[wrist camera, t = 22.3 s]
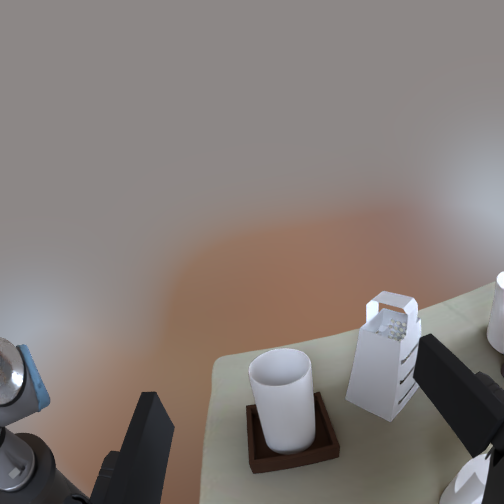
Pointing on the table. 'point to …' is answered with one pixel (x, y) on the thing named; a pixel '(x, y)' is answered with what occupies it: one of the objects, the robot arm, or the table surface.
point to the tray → (319, 451)
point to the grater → (385, 357)
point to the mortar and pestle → (502, 370)
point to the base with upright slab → (468, 483)
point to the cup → (284, 399)
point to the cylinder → (497, 317)
